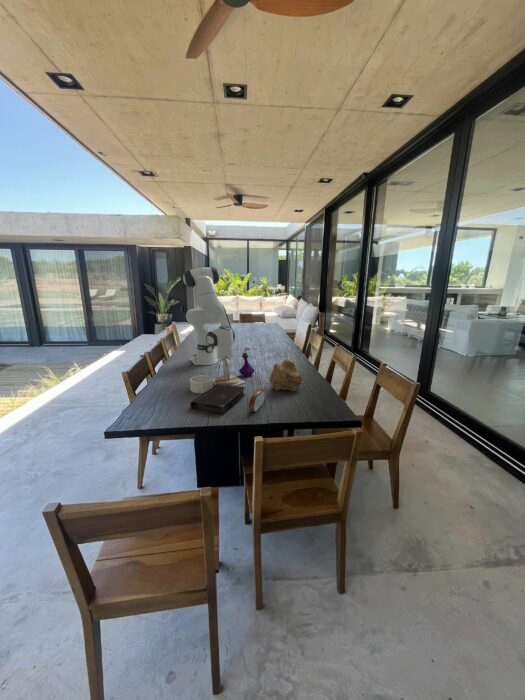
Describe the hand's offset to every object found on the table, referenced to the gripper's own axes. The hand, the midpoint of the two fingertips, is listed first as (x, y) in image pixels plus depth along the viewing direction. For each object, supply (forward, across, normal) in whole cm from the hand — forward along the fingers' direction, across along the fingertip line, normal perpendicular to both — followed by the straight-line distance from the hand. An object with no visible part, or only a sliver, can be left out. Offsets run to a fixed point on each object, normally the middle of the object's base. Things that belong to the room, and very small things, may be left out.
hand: (226, 376), depth 174 cm
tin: (+4, -36, -14) cm, 39 cm away
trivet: (+3, 0, 0) cm, 3 cm away
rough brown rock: (+4, -13, -34) cm, 37 cm away
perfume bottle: (+4, +11, -13) cm, 17 cm away
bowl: (+4, -9, +14) cm, 17 cm away
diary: (+4, -27, +4) cm, 28 cm away
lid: (+3, 0, 0) cm, 3 cm away
